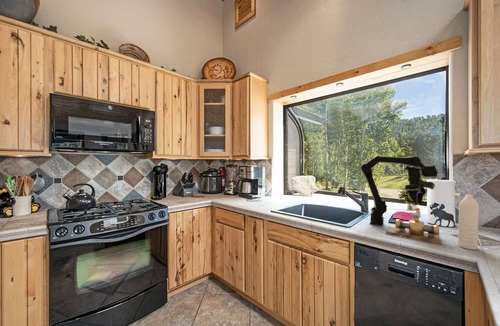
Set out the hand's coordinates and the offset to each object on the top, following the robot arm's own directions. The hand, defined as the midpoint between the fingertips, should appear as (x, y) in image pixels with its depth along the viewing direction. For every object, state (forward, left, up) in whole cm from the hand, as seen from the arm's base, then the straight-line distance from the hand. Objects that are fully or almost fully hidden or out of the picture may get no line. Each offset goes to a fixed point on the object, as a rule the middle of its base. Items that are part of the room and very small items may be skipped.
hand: (418, 204), depth 121 cm
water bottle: (+18, -12, -16) cm, 27 cm away
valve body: (0, -11, -14) cm, 18 cm away
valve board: (-2, -11, -15) cm, 19 cm away
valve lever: (0, -7, -5) cm, 8 cm away
